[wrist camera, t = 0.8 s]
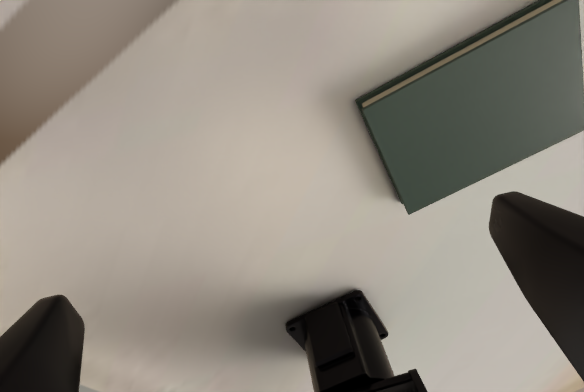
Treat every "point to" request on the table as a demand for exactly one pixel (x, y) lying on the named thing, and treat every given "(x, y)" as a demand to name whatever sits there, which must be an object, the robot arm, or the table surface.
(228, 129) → the table surface
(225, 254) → the table surface
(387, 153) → the notebook
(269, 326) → the table surface
